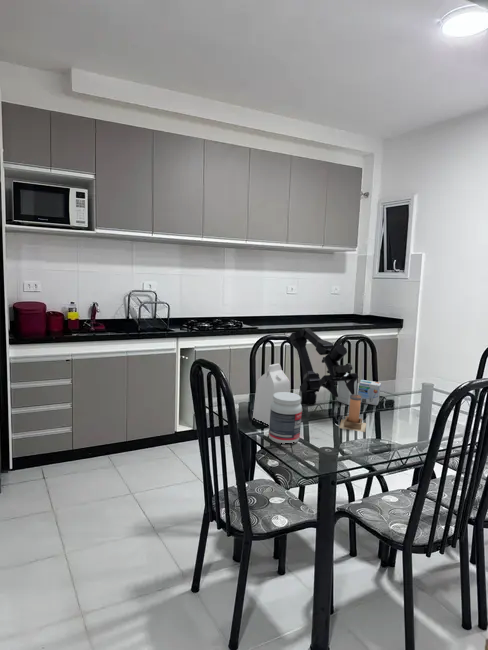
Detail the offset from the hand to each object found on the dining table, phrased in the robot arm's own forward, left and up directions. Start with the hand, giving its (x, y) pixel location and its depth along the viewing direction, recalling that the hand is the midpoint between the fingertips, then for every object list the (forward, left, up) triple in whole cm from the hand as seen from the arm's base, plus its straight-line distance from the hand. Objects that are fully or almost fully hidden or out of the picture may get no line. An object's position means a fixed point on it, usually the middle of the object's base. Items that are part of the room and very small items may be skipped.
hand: (345, 395), depth 207 cm
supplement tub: (-21, -29, -13) cm, 38 cm away
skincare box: (-1, +31, -13) cm, 34 cm away
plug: (+5, -5, -11) cm, 13 cm away
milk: (-31, -11, -13) cm, 36 cm away
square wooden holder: (+5, -5, -13) cm, 15 cm away
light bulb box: (+10, +37, -13) cm, 40 cm away
